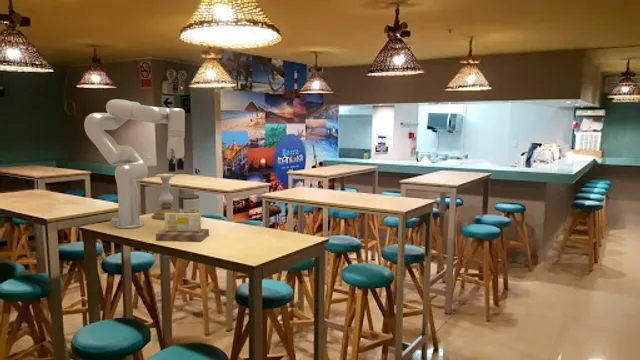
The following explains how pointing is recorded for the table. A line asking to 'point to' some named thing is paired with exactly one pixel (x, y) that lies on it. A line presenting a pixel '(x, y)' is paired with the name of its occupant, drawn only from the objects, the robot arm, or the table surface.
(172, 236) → the walnut plinth
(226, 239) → the table surface
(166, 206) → the candle holder
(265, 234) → the table surface
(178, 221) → the candy box
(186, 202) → the coffee can
